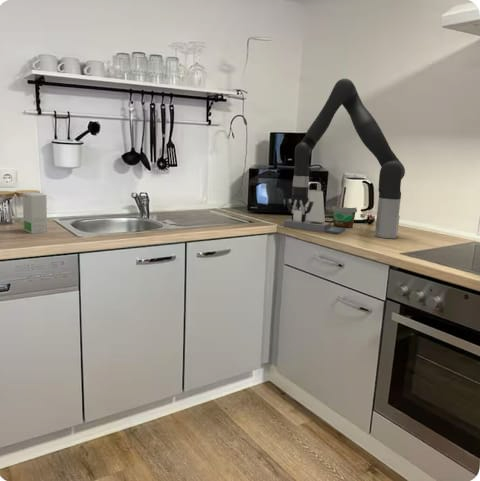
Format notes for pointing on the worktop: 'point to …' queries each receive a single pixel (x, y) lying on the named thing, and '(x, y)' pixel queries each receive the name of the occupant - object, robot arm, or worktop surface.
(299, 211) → the block
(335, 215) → the food container
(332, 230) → the phone
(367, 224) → the worktop surface
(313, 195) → the grater
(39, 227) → the skincare box
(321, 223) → the power strip
